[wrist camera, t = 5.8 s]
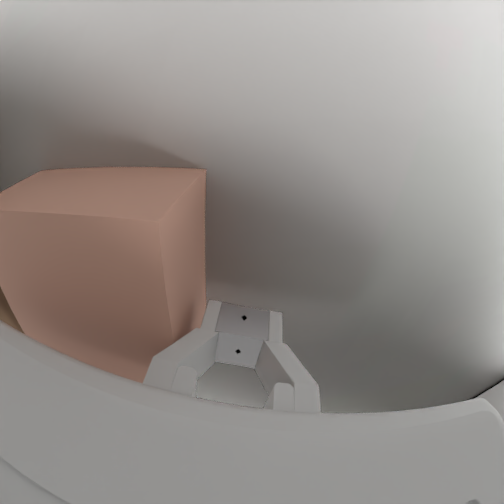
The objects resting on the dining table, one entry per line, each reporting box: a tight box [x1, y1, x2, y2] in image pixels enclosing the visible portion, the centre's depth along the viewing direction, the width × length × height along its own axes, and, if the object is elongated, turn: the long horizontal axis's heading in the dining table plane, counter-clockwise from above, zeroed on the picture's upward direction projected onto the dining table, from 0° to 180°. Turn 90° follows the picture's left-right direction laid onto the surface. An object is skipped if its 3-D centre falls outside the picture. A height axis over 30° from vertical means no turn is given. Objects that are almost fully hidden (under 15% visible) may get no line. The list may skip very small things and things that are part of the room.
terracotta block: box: [0, 167, 206, 383], centre depth 11 cm, size 9×9×5 cm
